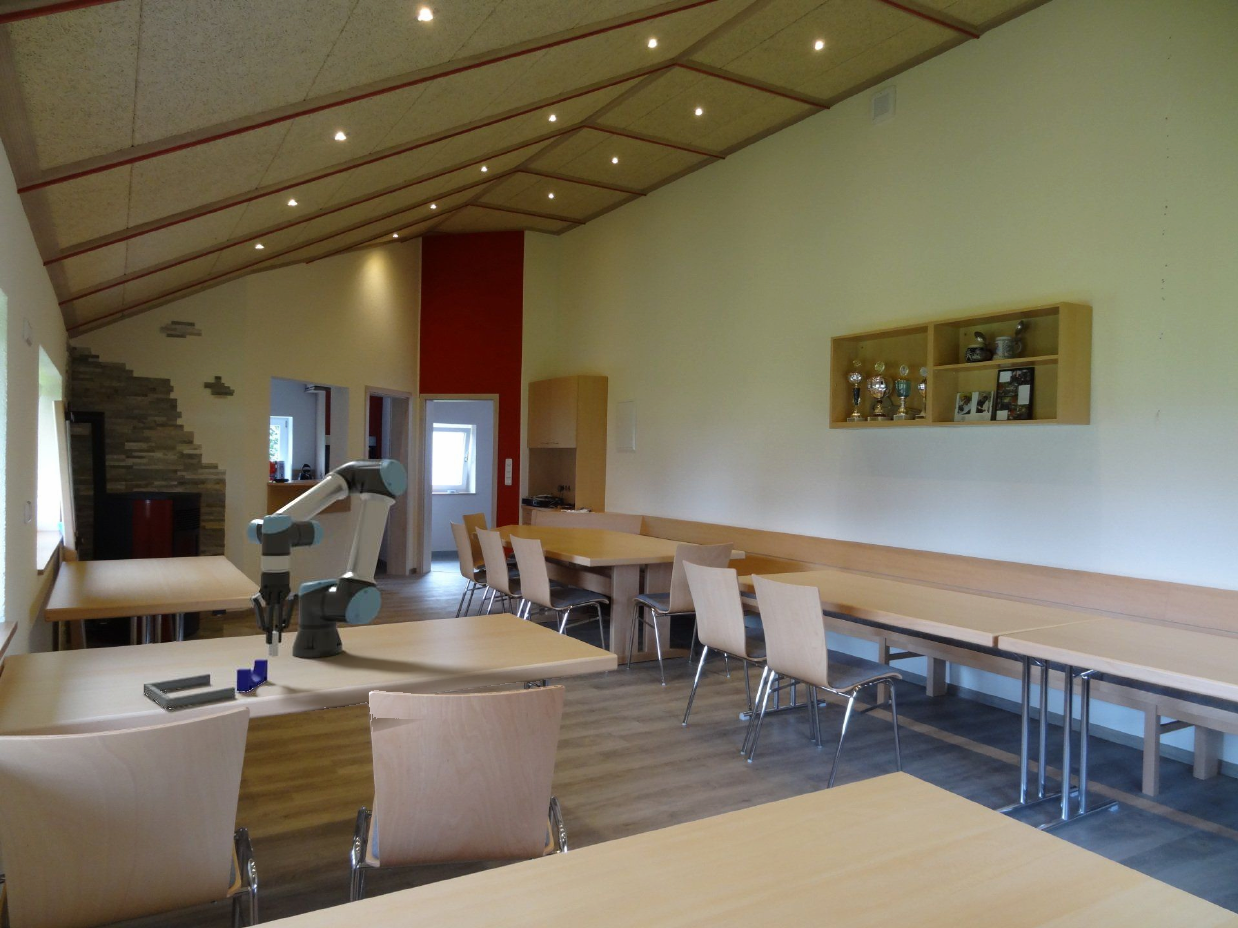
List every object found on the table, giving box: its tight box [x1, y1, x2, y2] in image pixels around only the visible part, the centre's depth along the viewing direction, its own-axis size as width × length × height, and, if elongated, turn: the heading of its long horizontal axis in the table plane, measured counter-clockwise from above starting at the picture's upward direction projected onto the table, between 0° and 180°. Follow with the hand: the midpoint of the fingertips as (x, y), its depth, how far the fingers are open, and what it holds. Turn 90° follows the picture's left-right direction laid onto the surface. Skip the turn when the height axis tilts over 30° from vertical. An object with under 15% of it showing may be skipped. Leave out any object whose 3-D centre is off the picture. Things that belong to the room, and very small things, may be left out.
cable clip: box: [236, 658, 269, 693], centre depth 223 cm, size 12×4×6 cm, turn 0°
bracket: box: [143, 673, 236, 710], centre depth 213 cm, size 16×19×2 cm
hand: (273, 655), depth 228 cm, fingers closed
